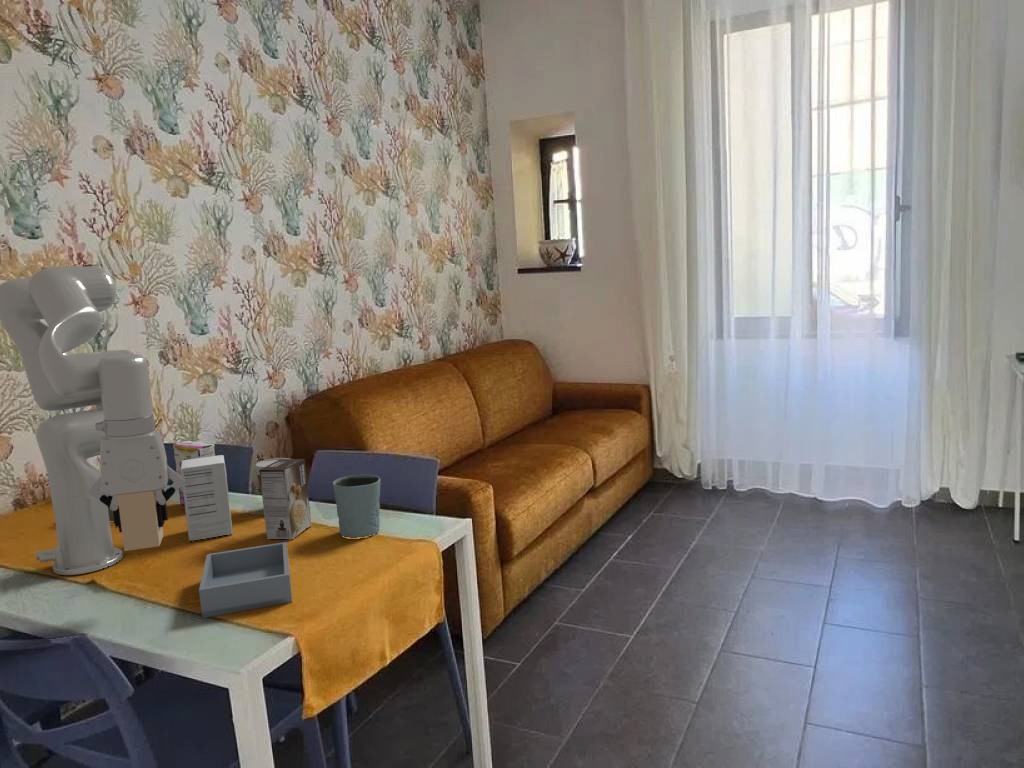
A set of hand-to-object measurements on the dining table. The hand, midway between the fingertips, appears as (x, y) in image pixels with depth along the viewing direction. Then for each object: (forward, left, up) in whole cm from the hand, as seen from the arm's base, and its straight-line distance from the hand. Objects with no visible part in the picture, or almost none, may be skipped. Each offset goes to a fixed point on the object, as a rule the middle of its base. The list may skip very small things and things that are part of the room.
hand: (142, 526), depth 129 cm
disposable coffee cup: (+22, +47, -15) cm, 54 cm away
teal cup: (+39, +20, -15) cm, 47 cm away
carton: (0, 0, -3) cm, 3 cm away
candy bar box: (+3, +60, -15) cm, 62 cm away
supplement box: (+7, +36, -15) cm, 40 cm away
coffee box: (+24, +27, -15) cm, 39 cm away
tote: (+16, -2, -14) cm, 22 cm away
